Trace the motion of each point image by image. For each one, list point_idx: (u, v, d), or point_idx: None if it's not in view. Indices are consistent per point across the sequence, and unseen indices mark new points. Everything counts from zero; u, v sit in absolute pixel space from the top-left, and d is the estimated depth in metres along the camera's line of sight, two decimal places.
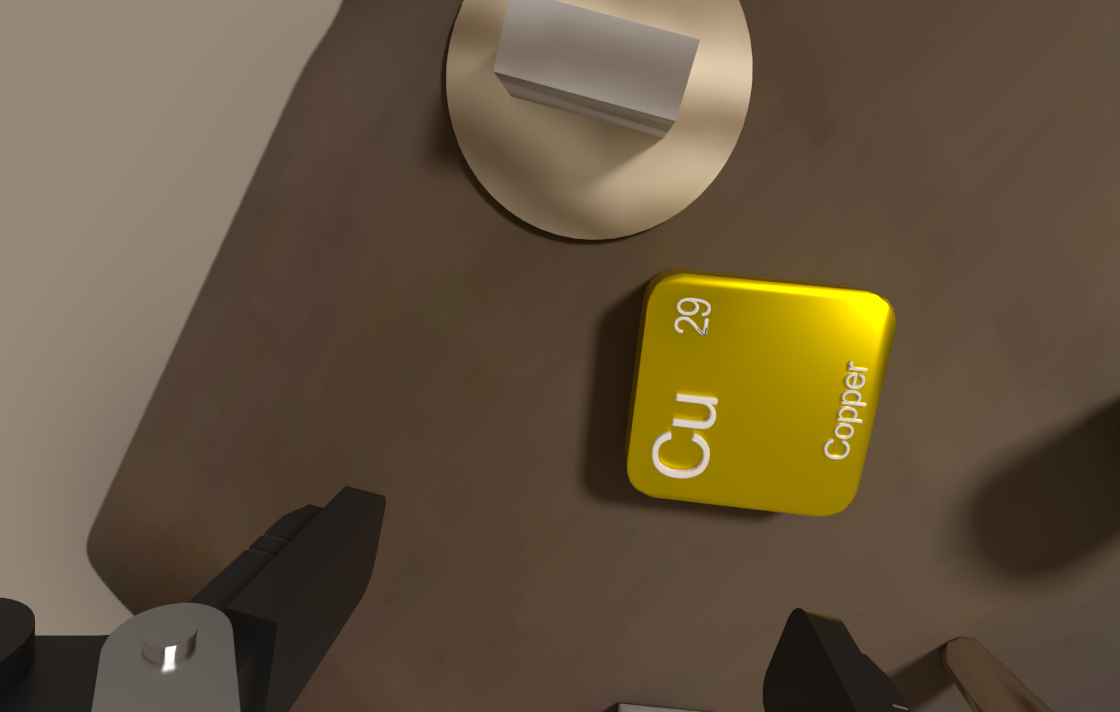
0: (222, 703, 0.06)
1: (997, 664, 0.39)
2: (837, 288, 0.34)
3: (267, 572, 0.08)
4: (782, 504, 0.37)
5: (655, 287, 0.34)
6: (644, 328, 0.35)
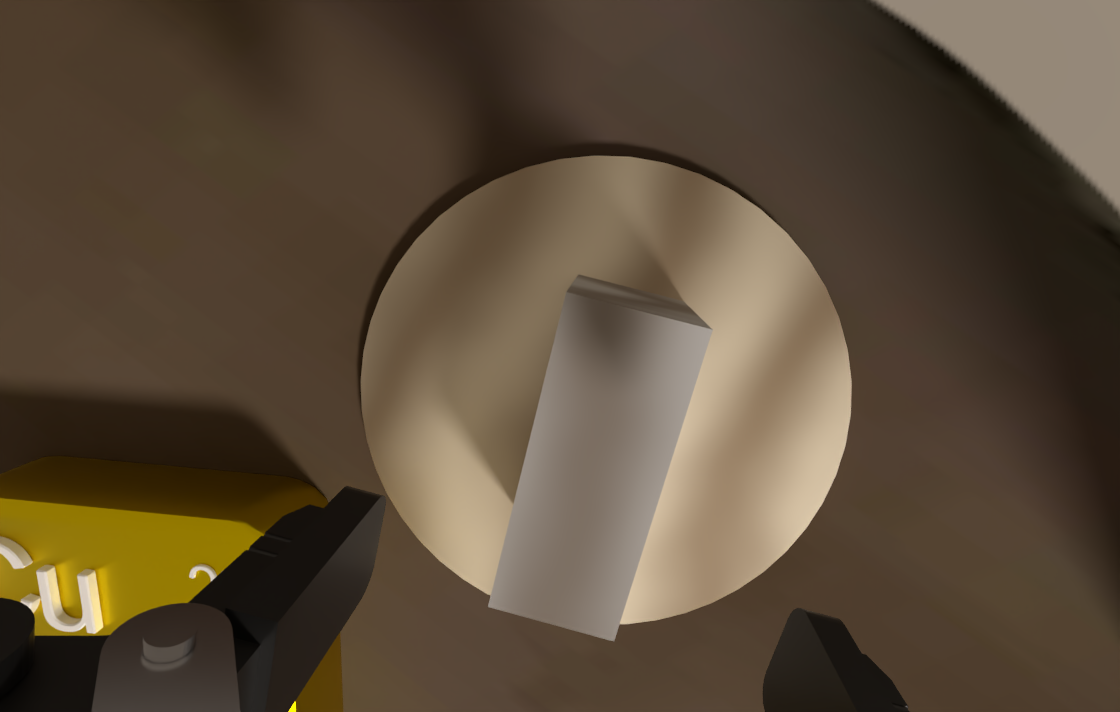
0: (222, 703, 0.06)
1: None
2: None
3: (267, 572, 0.08)
4: None
5: (258, 531, 0.21)
6: (192, 515, 0.21)
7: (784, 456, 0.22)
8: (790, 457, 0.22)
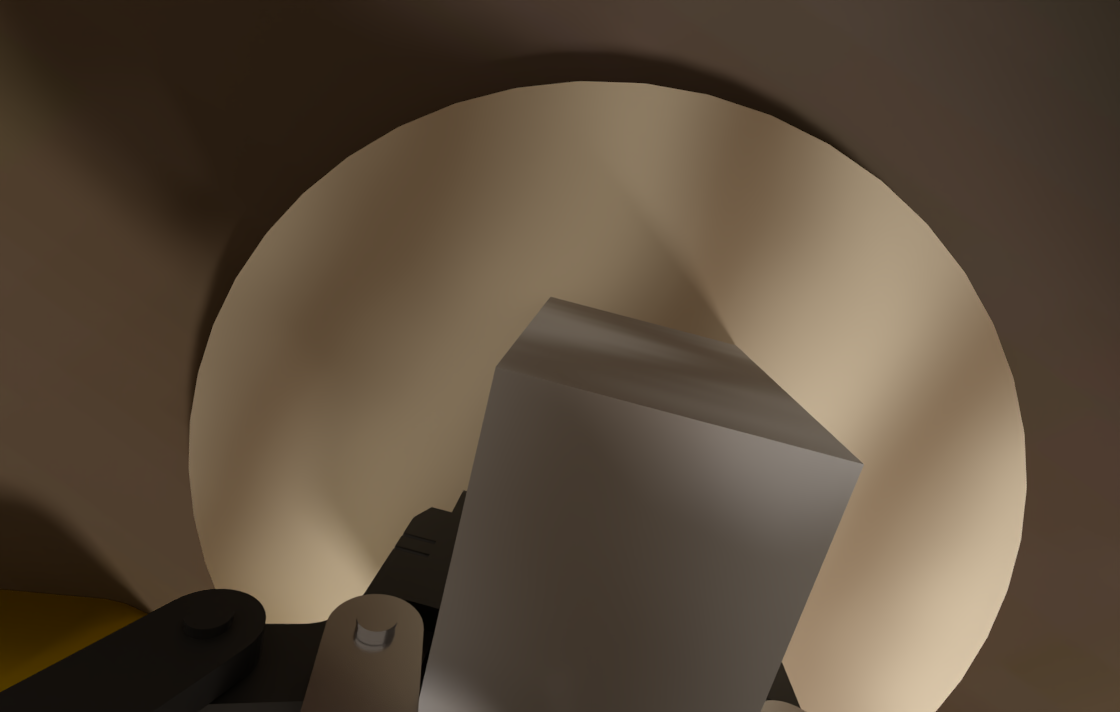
0: (405, 696, 0.06)
1: None
2: None
3: (427, 568, 0.09)
4: None
5: None
6: None
7: (900, 605, 0.13)
8: (910, 607, 0.13)
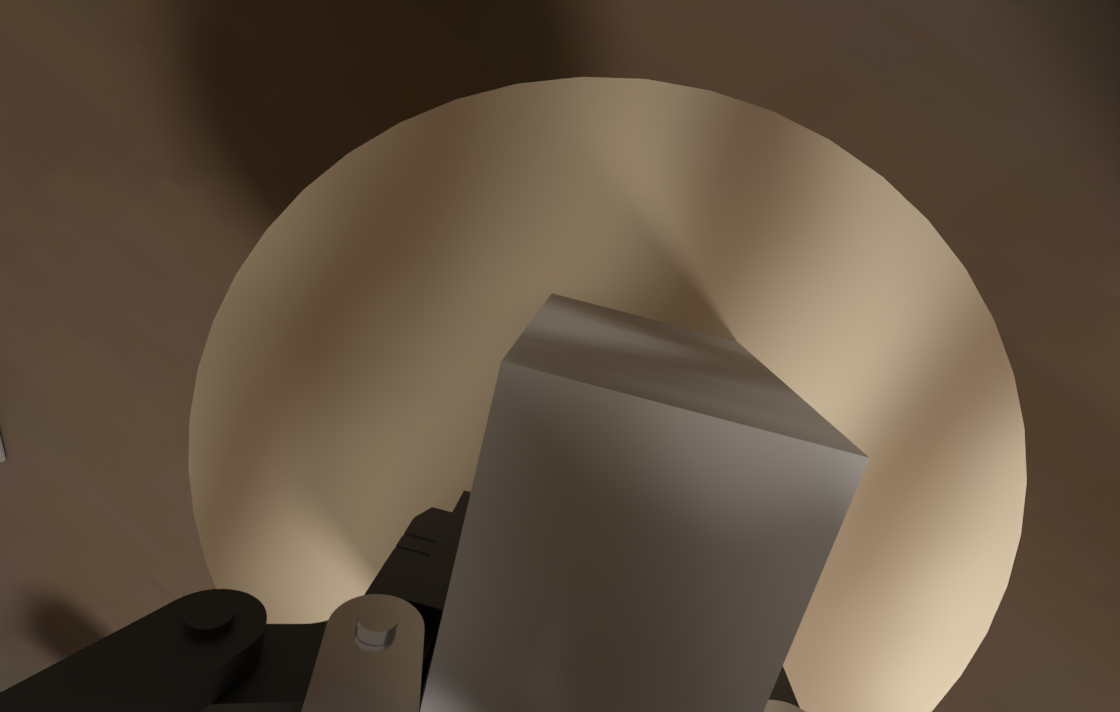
0: (406, 696, 0.06)
1: None
2: None
3: (428, 568, 0.09)
4: None
5: None
6: None
7: (901, 601, 0.13)
8: (911, 602, 0.13)
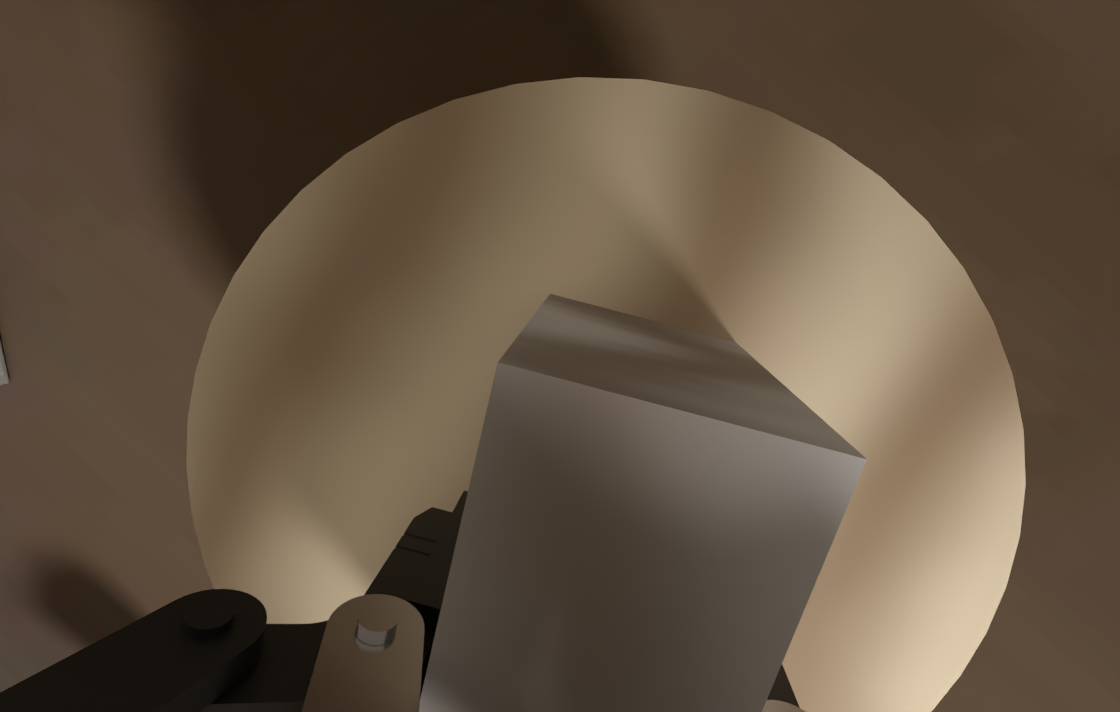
0: (406, 696, 0.06)
1: None
2: None
3: (428, 568, 0.09)
4: None
5: None
6: None
7: (899, 601, 0.13)
8: (910, 603, 0.13)
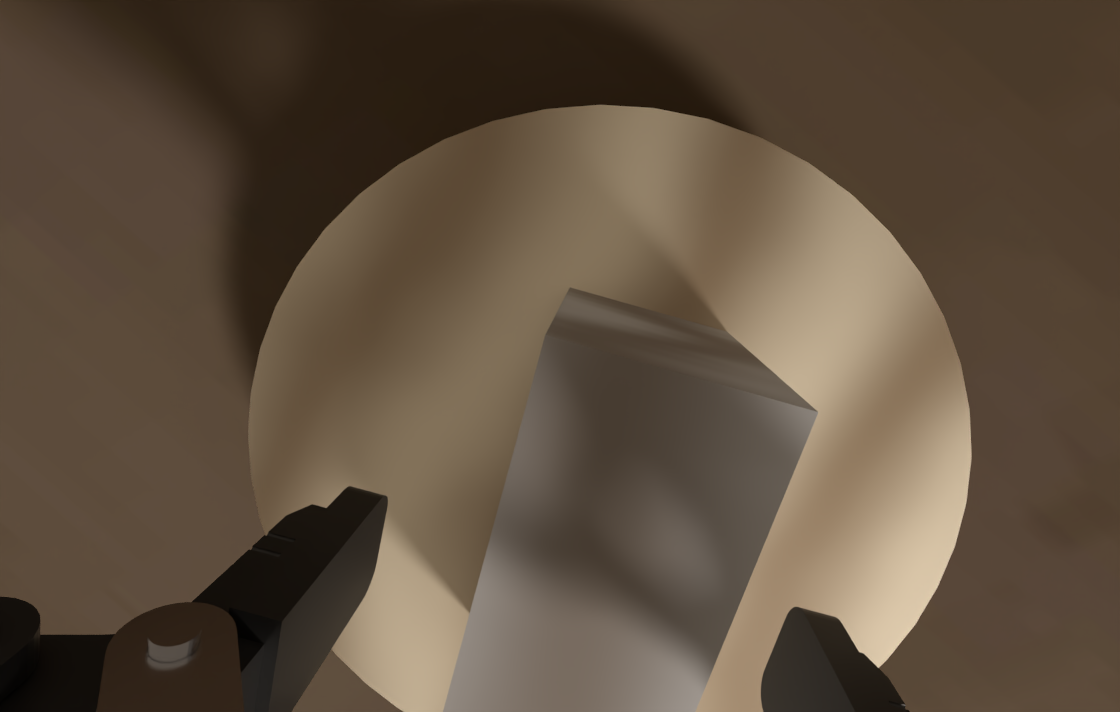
0: (226, 702, 0.06)
1: None
2: None
3: (270, 571, 0.08)
4: None
5: None
6: None
7: (864, 558, 0.15)
8: (872, 560, 0.15)
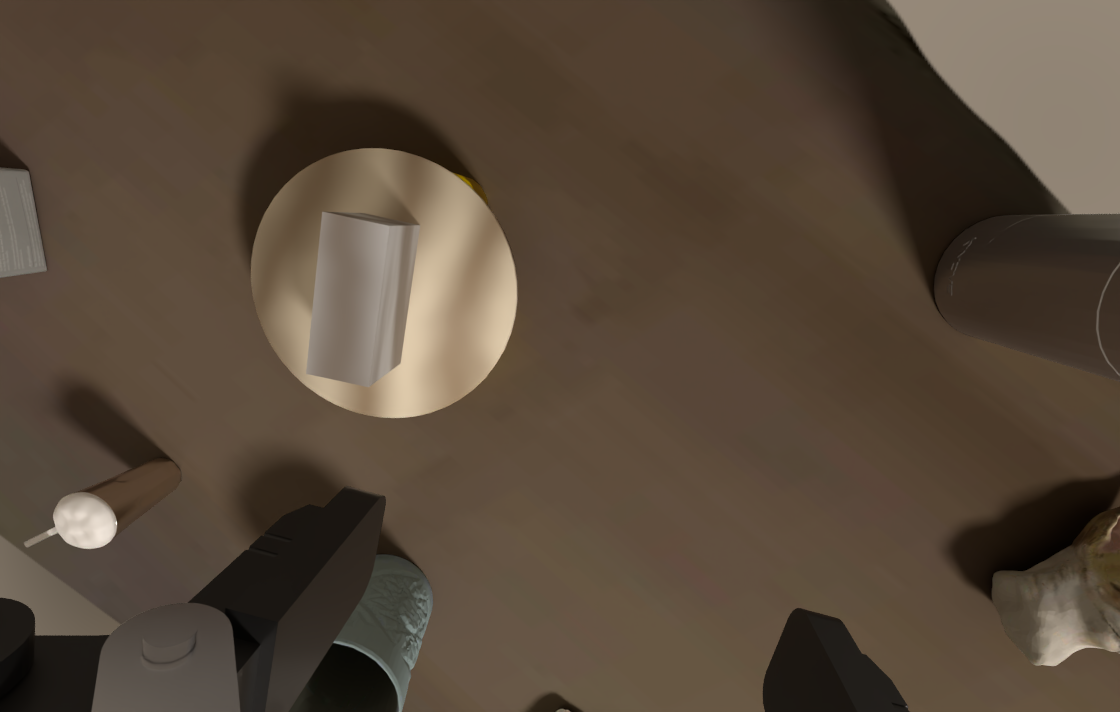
0: (222, 703, 0.06)
1: (159, 493, 0.47)
2: None
3: (267, 572, 0.08)
4: None
5: (460, 175, 0.39)
6: None
7: (485, 309, 0.40)
8: (488, 310, 0.39)
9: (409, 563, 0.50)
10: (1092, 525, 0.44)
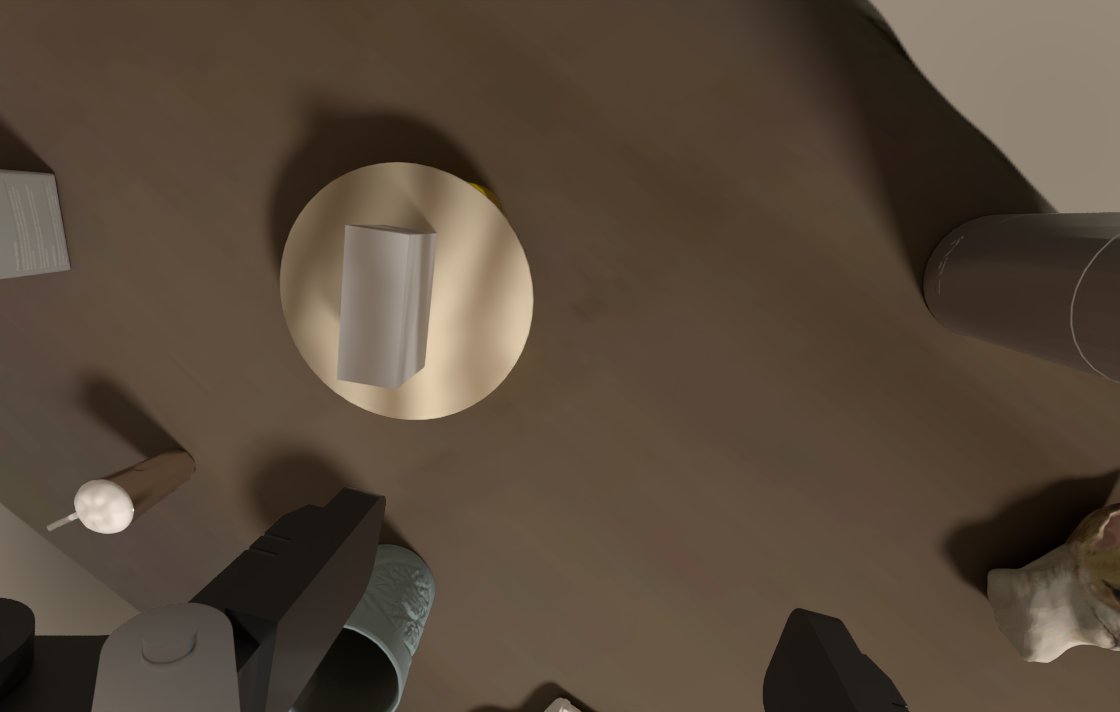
0: (222, 703, 0.06)
1: (174, 482, 0.49)
2: None
3: (267, 572, 0.08)
4: None
5: (473, 184, 0.41)
6: None
7: (503, 311, 0.41)
8: (506, 311, 0.41)
9: (412, 553, 0.52)
10: (1084, 523, 0.45)
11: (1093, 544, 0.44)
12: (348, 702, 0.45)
